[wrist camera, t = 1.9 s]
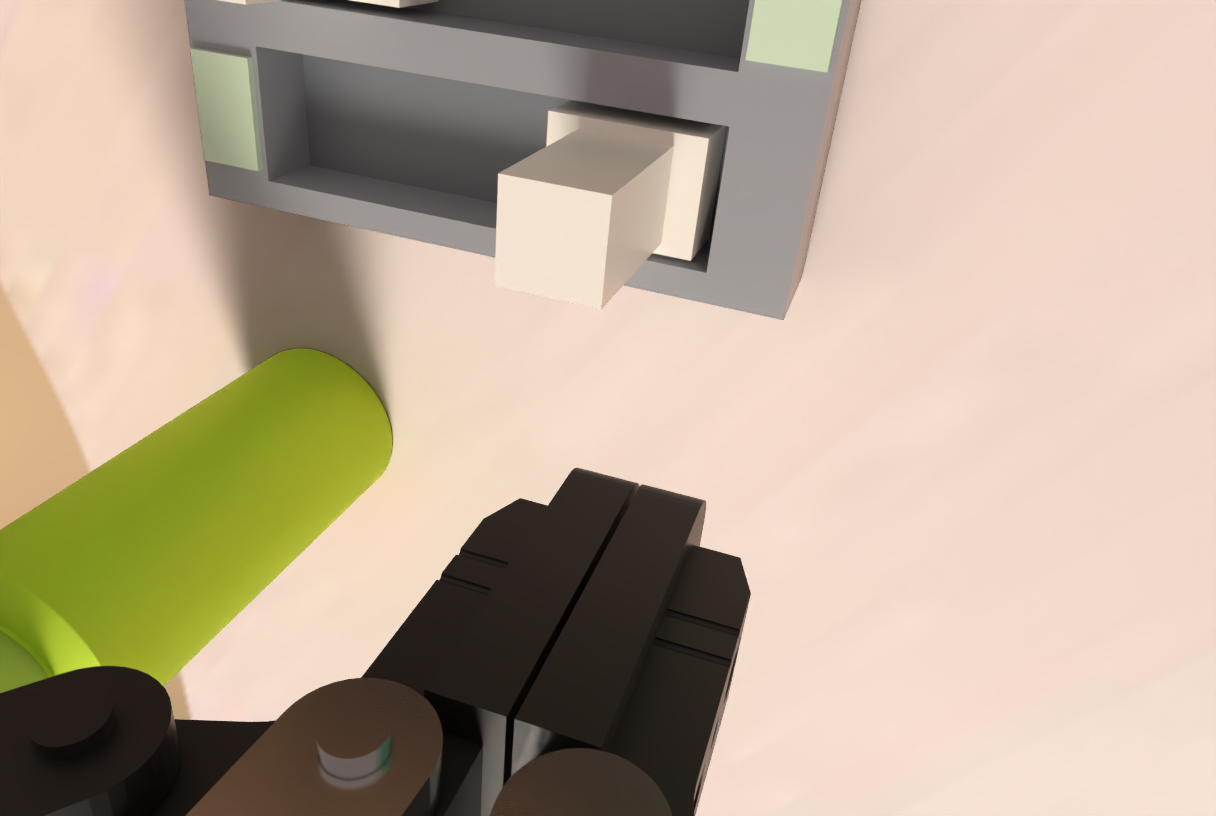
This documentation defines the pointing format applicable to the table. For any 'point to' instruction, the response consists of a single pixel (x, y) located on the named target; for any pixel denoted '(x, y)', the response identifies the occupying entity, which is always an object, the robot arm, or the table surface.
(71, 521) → the soap dispenser
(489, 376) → the table surface
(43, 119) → the table surface
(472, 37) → the switch bank
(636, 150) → the tab
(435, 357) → the table surface
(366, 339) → the table surface
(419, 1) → the tab
